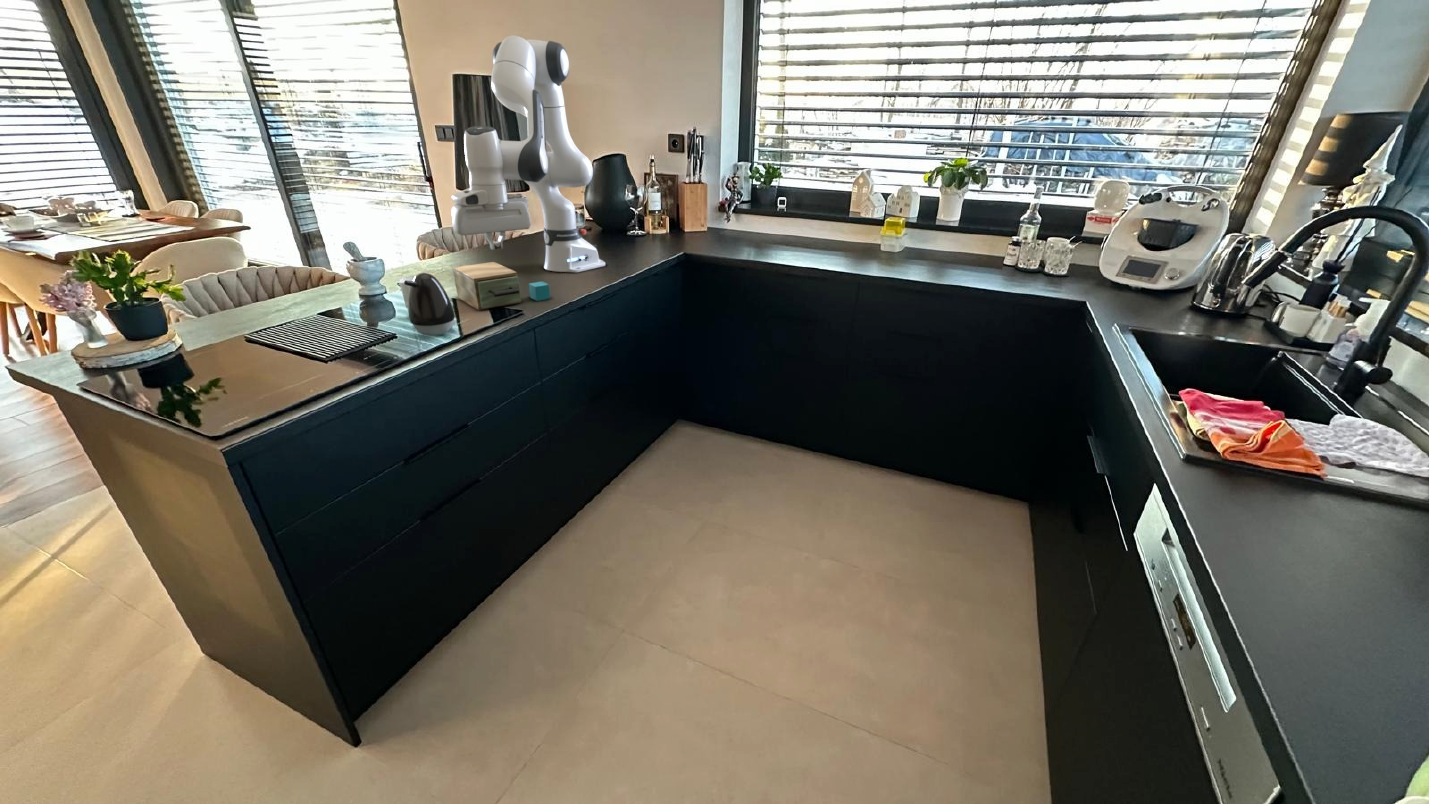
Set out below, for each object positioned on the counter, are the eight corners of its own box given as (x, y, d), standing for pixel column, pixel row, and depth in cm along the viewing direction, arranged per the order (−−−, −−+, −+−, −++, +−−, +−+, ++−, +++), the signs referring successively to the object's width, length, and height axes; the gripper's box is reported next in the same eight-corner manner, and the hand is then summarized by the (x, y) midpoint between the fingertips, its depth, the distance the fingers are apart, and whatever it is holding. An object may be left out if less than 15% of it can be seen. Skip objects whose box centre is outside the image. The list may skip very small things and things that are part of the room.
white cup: (432, 309, 157) (425, 274, 152) (443, 316, 152) (436, 280, 147) (402, 315, 152) (394, 279, 147) (413, 322, 147) (404, 285, 142)
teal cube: (543, 295, 173) (541, 281, 171) (550, 298, 170) (548, 284, 168) (530, 297, 170) (528, 283, 168) (536, 301, 167) (535, 286, 165)
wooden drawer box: (520, 302, 165) (516, 272, 161) (478, 310, 158) (473, 278, 154) (498, 290, 175) (494, 261, 171) (457, 297, 168) (452, 267, 164)
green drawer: (528, 305, 161) (525, 280, 157) (489, 312, 154) (485, 286, 150) (499, 290, 173) (496, 266, 170) (462, 296, 166) (458, 272, 163)
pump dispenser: (403, 334, 139) (389, 274, 132) (439, 323, 147) (427, 265, 140) (430, 342, 135) (418, 280, 128) (466, 330, 143) (455, 271, 136)
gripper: (521, 191, 154) (527, 242, 160) (445, 196, 141) (454, 251, 148) (532, 194, 150) (537, 246, 156) (454, 199, 137) (464, 255, 143)
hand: (496, 248), depth 152 cm, fingers closed
